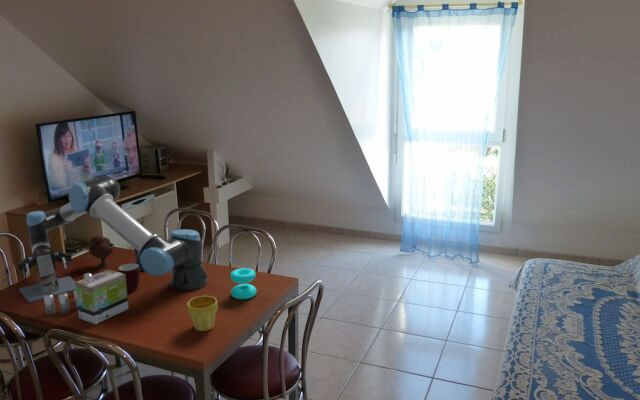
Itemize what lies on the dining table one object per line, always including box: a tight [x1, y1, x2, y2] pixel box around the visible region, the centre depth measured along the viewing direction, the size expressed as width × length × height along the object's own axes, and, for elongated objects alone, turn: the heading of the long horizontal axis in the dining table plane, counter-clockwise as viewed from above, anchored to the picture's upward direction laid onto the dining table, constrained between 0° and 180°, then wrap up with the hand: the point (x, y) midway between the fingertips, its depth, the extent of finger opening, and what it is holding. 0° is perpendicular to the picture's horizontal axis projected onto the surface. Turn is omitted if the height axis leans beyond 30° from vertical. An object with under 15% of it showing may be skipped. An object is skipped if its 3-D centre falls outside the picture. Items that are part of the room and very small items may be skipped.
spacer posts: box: [43, 272, 93, 315], centre depth 225 cm, size 17×21×7 cm
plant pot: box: [186, 295, 219, 332], centre depth 203 cm, size 10×10×10 cm
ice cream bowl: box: [88, 234, 115, 269], centre depth 260 cm, size 11×11×15 cm
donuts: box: [229, 267, 258, 300], centre depth 228 cm, size 10×10×10 cm
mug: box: [118, 262, 141, 293], centre depth 234 cm, size 11×8×10 cm
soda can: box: [133, 247, 145, 271], centre depth 257 cm, size 7×7×12 cm
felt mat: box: [18, 275, 76, 304], centre depth 237 cm, size 16×20×1 cm
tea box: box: [75, 269, 129, 325], centre depth 214 cm, size 15×10×15 cm, turn 148°
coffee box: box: [35, 246, 59, 293], centre depth 235 cm, size 9×6×16 cm
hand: (47, 268), depth 232 cm, fingers open, 13 cm apart
